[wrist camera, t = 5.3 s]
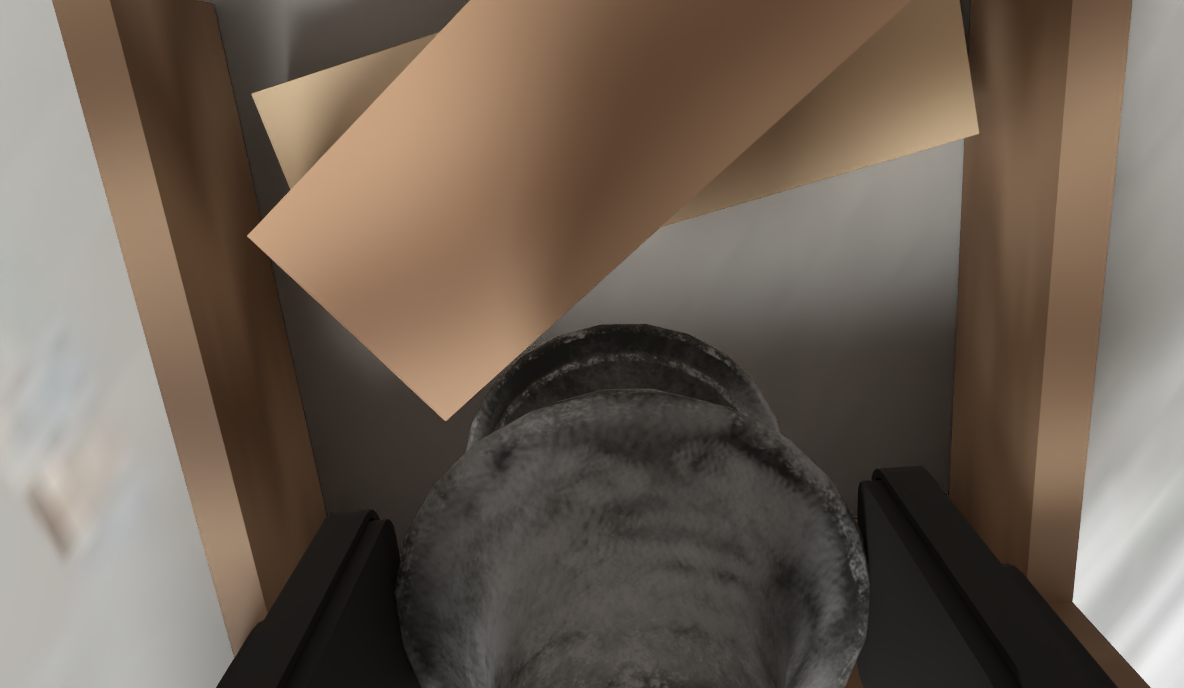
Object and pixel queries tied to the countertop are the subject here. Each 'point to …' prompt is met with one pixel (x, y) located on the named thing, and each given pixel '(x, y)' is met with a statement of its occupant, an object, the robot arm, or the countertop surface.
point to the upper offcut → (537, 165)
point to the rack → (977, 489)
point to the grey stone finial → (631, 532)
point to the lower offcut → (770, 165)
